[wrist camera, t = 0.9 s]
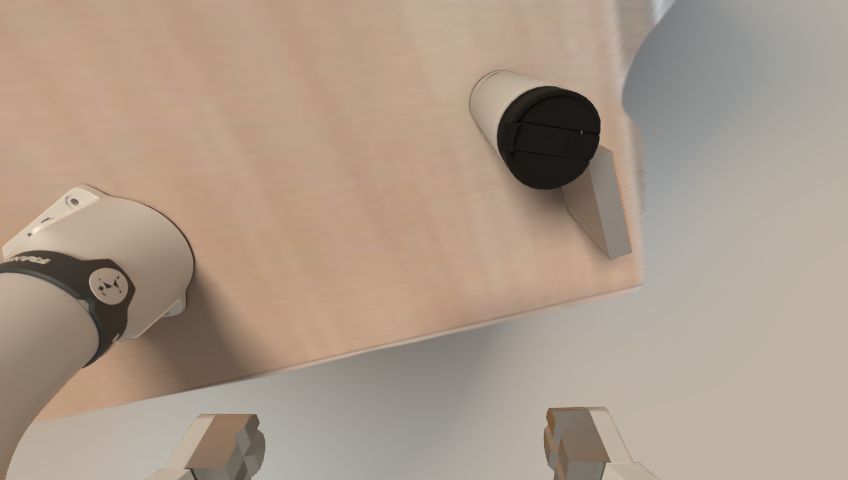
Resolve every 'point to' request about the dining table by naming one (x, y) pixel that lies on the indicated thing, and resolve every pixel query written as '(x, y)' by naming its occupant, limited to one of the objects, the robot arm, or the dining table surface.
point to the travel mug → (536, 127)
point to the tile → (600, 204)
